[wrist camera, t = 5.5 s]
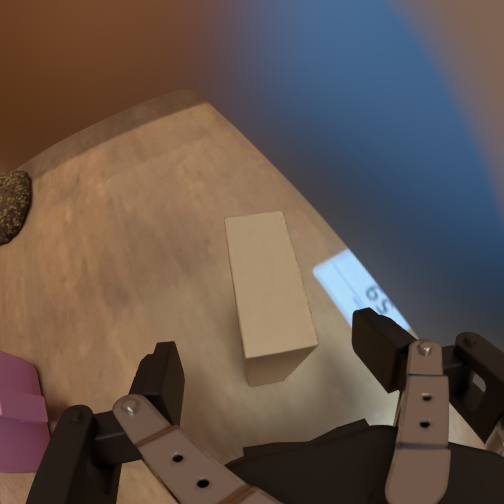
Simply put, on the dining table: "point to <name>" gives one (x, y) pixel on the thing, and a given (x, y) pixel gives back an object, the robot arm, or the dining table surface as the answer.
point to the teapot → (21, 417)
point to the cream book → (268, 297)
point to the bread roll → (13, 202)
